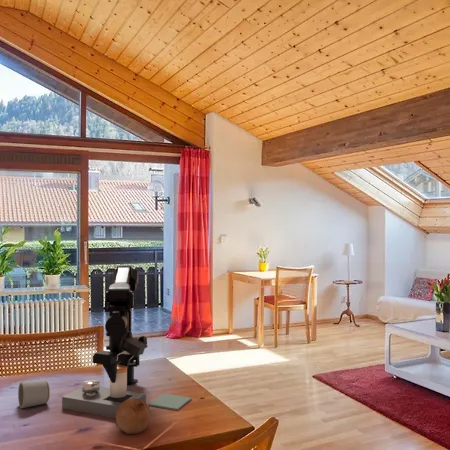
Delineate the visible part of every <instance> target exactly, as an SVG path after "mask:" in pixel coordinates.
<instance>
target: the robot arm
mask: <svg viewBox="0 0 450 450" xmlns="http://www.w3.org/2000/svg"><path fill="white" fill-rule="evenodd" d="M112 275H113V276H112V282H113V283H112V284H110V285H109V286H108V290H106V291H105V299H104V313H109V315H108V318H107V320H106V322H105V326H104V327H105V331H106V333H105V335H106V337H108V345H106V346H105V350H100V351H97V352H95V353H94V354H93V355H92V364H96V365H97V364H98V365H102V366H103V367H102V368H104V370H105V372H106V373H107V376H108V378H109V381H110V380H111V382H112V383H115V381H116V373H117V366H118V365H124V366H127V386H132V385H133V384H135V383H137V382H138V379H136V378H135V367H136V368H137V367H138V366H140V364H141V363H140V356H141V355H143V354H144V352H145V350H146V349H147V348H148V340H147V339H148V338H147V337H146V336H144V335H142V336H140V337H139V338H138V337H133V333H132V325H133V323H132V319H133V317H132V314H133V312H132V309H134V299H135V295H134V293H135V291H136V290H137V285H139V271H138V270H137V269H135V268H134V267H133V266H132V265H130V264H119V265H116V269H114V270H113V273H112Z"/></svg>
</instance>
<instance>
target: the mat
mask: <svg viewBox="0 0 450 450" xmlns="http://www.w3.org/2000/svg"><path fill="white" fill-rule="evenodd" d="M190 401H192V397H189V396H188V397H187V396H183V395H182V396H181V395H175V394H169V393H162V394H161V395H159V396H158V397H157V398H155V399H154V400H152V401H151V402H150V403H148V404H147V405H148V407H154V408H159V409H166V410H171V411H176V412H177V411H178V410H180V409H181V408H183V407H184V406H185V405H186V404H188V403H189V402H190Z"/></svg>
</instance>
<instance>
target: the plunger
mask: <svg viewBox="0 0 450 450" xmlns="http://www.w3.org/2000/svg"><path fill="white" fill-rule="evenodd" d="M81 383H82V384H81V387H82V392H84V393H86V395H90V396H93V395H95V392H98V391H99V387H100V381H99V380H97V379H88V380H85V381H83V382H81Z"/></svg>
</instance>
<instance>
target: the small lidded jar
mask: <svg viewBox="0 0 450 450" xmlns="http://www.w3.org/2000/svg"><path fill="white" fill-rule="evenodd" d="M127 386H128V385H127V366H124V365H118V366H117V373H116V381H115V383H112V382H111V380H110V379H109V388H110V396H111V397H113V398H121V397H124V396H126V395H127V391H128V390H127V389H128V388H127Z"/></svg>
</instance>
